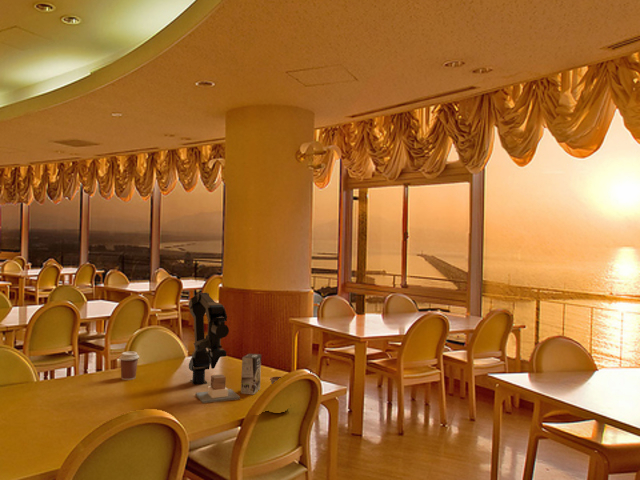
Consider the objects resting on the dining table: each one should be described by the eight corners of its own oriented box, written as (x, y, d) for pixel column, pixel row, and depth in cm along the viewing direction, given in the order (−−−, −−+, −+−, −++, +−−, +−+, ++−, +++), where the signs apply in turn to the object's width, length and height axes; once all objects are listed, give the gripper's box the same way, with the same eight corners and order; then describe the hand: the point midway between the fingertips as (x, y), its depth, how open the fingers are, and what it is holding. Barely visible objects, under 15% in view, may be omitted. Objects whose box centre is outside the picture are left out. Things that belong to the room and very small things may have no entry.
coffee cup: (142, 377, 247) (143, 352, 247) (126, 381, 240) (127, 356, 240) (130, 374, 252) (131, 350, 252) (114, 378, 245) (115, 353, 245)
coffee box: (254, 395, 227) (255, 358, 227) (240, 393, 228) (241, 357, 228) (260, 389, 236) (261, 354, 236) (247, 388, 237) (248, 352, 237)
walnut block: (210, 386, 223) (211, 375, 223) (221, 385, 225) (222, 374, 226) (213, 389, 219) (214, 378, 219) (225, 388, 221) (225, 377, 221)
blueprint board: (195, 395, 224) (196, 385, 224) (231, 391, 231) (231, 382, 231) (202, 403, 213) (203, 393, 213) (239, 399, 220) (240, 389, 220)
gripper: (190, 329, 231) (189, 364, 231) (201, 338, 214) (199, 376, 215) (215, 328, 236) (213, 362, 236) (227, 337, 219) (225, 373, 220)
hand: (212, 368), depth 227 cm, fingers closed
